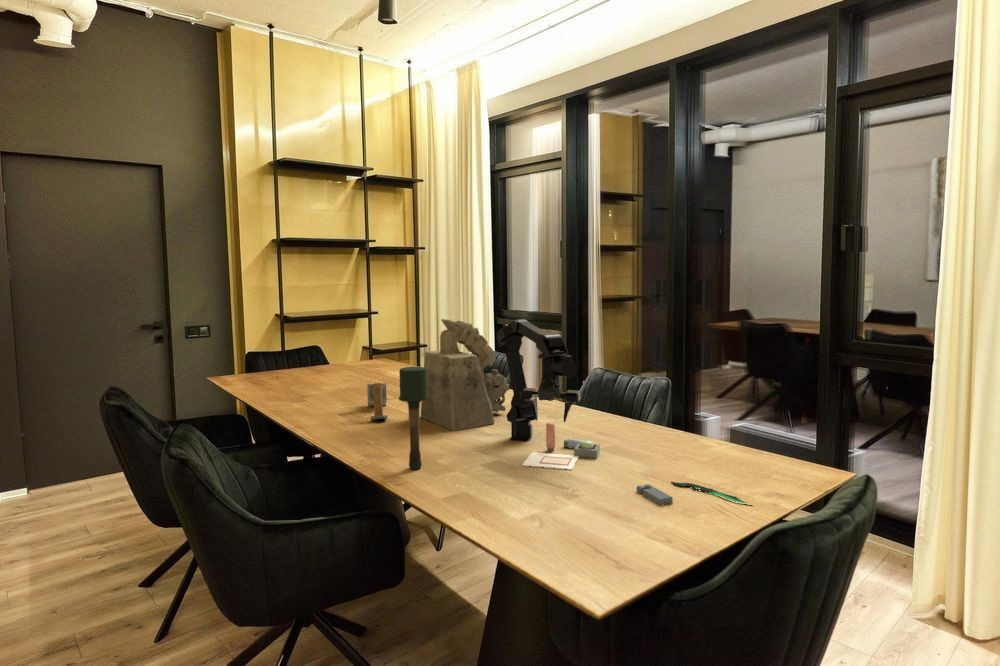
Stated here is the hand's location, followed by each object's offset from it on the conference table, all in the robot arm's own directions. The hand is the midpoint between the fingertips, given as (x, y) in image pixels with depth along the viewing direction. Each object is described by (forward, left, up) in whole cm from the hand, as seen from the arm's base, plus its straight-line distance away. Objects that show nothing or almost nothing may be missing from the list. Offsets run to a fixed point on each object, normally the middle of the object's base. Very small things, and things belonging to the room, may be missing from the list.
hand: (550, 421), depth 197 cm
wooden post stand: (-80, +34, -10) cm, 87 cm away
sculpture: (-39, +36, -10) cm, 54 cm away
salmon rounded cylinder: (0, 0, -10) cm, 10 cm away
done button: (+12, -1, -8) cm, 15 cm away
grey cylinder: (+8, +6, -10) cm, 14 cm away
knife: (+48, -27, -10) cm, 56 cm away
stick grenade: (-35, -28, -10) cm, 46 cm away
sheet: (+3, -11, -10) cm, 15 cm away
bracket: (+34, -33, -10) cm, 49 cm away
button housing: (+12, -1, -10) cm, 16 cm away
